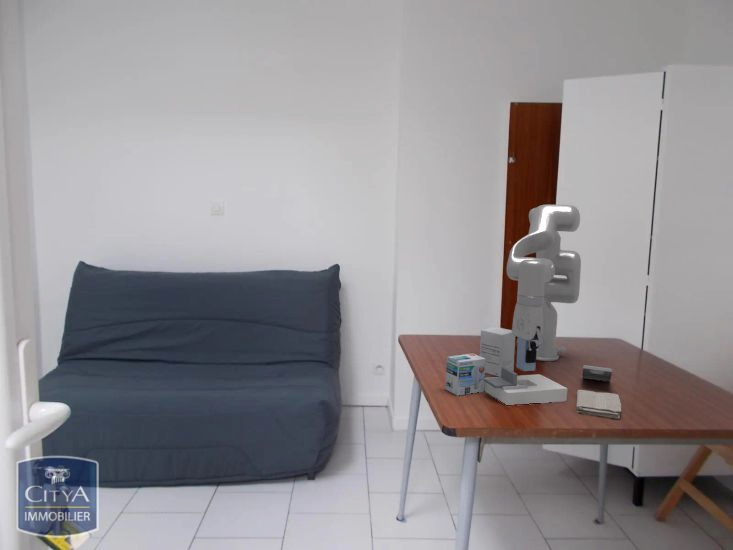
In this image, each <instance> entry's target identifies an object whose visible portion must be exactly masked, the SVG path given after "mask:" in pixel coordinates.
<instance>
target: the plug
mask: <svg viewBox="0 0 733 550" xmlns="http://www.w3.org/2000/svg"><path fill="white" fill-rule="evenodd" d="M533 339H534V338H533ZM533 343H534V342H531V345H532V344H533ZM526 350H528V341H527V340H524V339H522V338H519V337H518V345H517V351H516V363H515V364H516V366H515V367H516V368H517V369H518V370H521V371H522V372H530V371H531V372H532V371H536V366H537V365H536V363H537V361H536V362H535V363H526Z"/></svg>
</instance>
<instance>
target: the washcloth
mask: <svg viewBox="0 0 733 550" xmlns="http://www.w3.org/2000/svg"><path fill="white" fill-rule="evenodd" d="M575 405H576V406H575V407H576V409H575V410H576V414H582V415H585V416H590V415H596V416H595V417H597V416H603V417H602V418H604V417H609V418H608V419H610V418H615V419H614V420H620V418H621V413H622V404H621V399H620V396H619V394H616V393H611V392H595V391H592V390H585V389H577V391H576V404H575ZM619 413H620V414H619Z"/></svg>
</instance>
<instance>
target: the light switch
mask: <svg viewBox="0 0 733 550" xmlns="http://www.w3.org/2000/svg"><path fill="white" fill-rule="evenodd" d="M612 374H613V369H612V368H609V367H601V366H594V365H586V364H585V365H584V364H583V366H582V379H588V380H593V379H594V380H593V381H600V380H602V381H601V382H607V381H609V383H611V379H612Z"/></svg>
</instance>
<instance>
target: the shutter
mask: <svg viewBox="0 0 733 550" xmlns="http://www.w3.org/2000/svg"><path fill="white" fill-rule="evenodd" d="M517 376H518V372H517V373H516V372H515V371H511V370H510V369H508V368H506V367H502V368H501V377H499V376H497V377H498V378H491V377H485V378H484V381H485V382H486V383H488V384H489V385H491V386H492V387H494V388H502V387H505V386H517Z"/></svg>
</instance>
